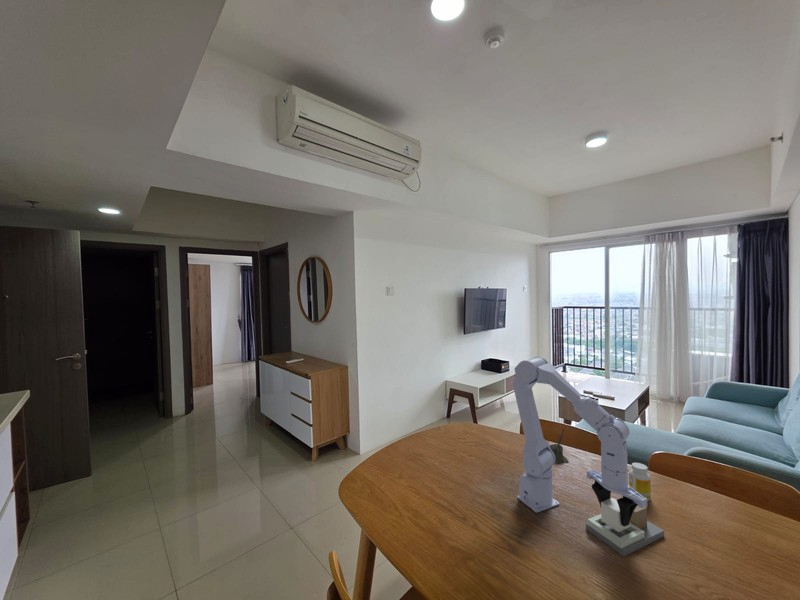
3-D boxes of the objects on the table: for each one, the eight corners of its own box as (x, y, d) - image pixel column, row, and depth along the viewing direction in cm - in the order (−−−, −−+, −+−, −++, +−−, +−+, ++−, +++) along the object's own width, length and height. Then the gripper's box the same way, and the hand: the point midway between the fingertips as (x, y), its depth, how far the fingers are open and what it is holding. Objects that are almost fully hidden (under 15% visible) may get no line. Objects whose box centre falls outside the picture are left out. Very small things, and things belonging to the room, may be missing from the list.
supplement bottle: (625, 493, 101) (624, 463, 101) (636, 489, 103) (636, 459, 103) (643, 503, 96) (642, 471, 96) (655, 499, 98) (654, 468, 98)
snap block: (618, 532, 80) (618, 512, 80) (601, 520, 84) (600, 502, 84) (630, 526, 82) (629, 507, 82) (612, 515, 86) (612, 497, 86)
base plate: (623, 556, 77) (623, 529, 77) (585, 528, 86) (585, 505, 86) (664, 536, 83) (663, 511, 83) (624, 512, 92) (624, 490, 92)
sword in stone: (542, 462, 121) (541, 430, 121) (538, 453, 128) (537, 423, 129) (571, 465, 118) (570, 432, 119) (565, 455, 126) (564, 425, 126)
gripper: (654, 477, 78) (655, 532, 78) (598, 451, 91) (599, 498, 91) (636, 484, 75) (637, 541, 75) (580, 456, 88) (581, 505, 89)
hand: (615, 518), depth 83 cm, fingers closed on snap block, 4 cm apart
